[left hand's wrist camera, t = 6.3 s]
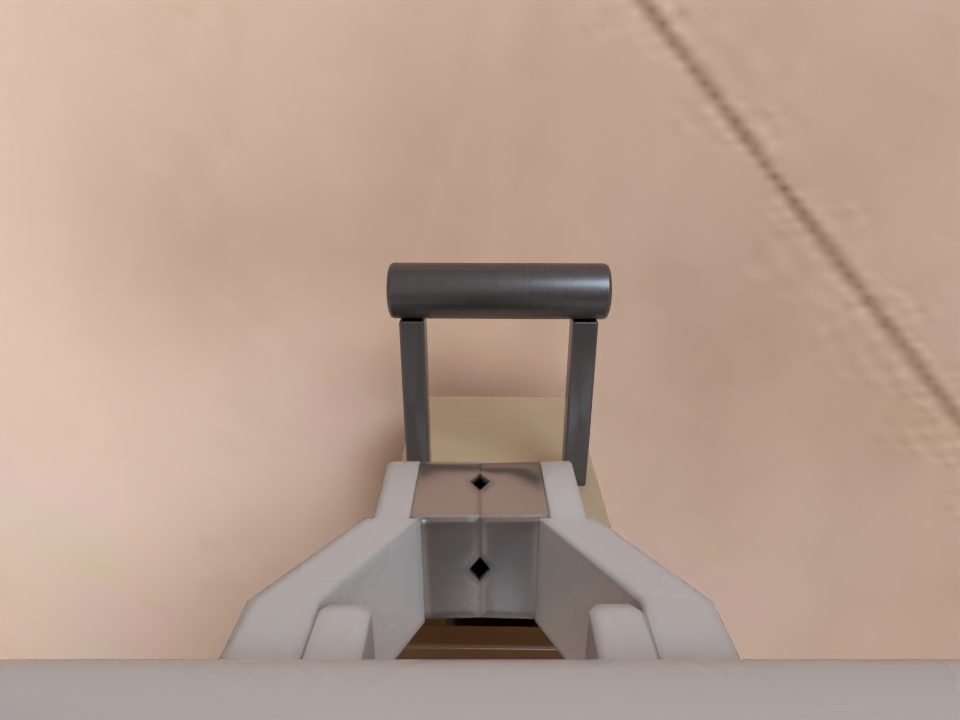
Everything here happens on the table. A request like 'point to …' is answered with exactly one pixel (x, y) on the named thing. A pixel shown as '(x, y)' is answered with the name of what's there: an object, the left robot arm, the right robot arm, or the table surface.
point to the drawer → (498, 419)
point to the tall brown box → (479, 643)
